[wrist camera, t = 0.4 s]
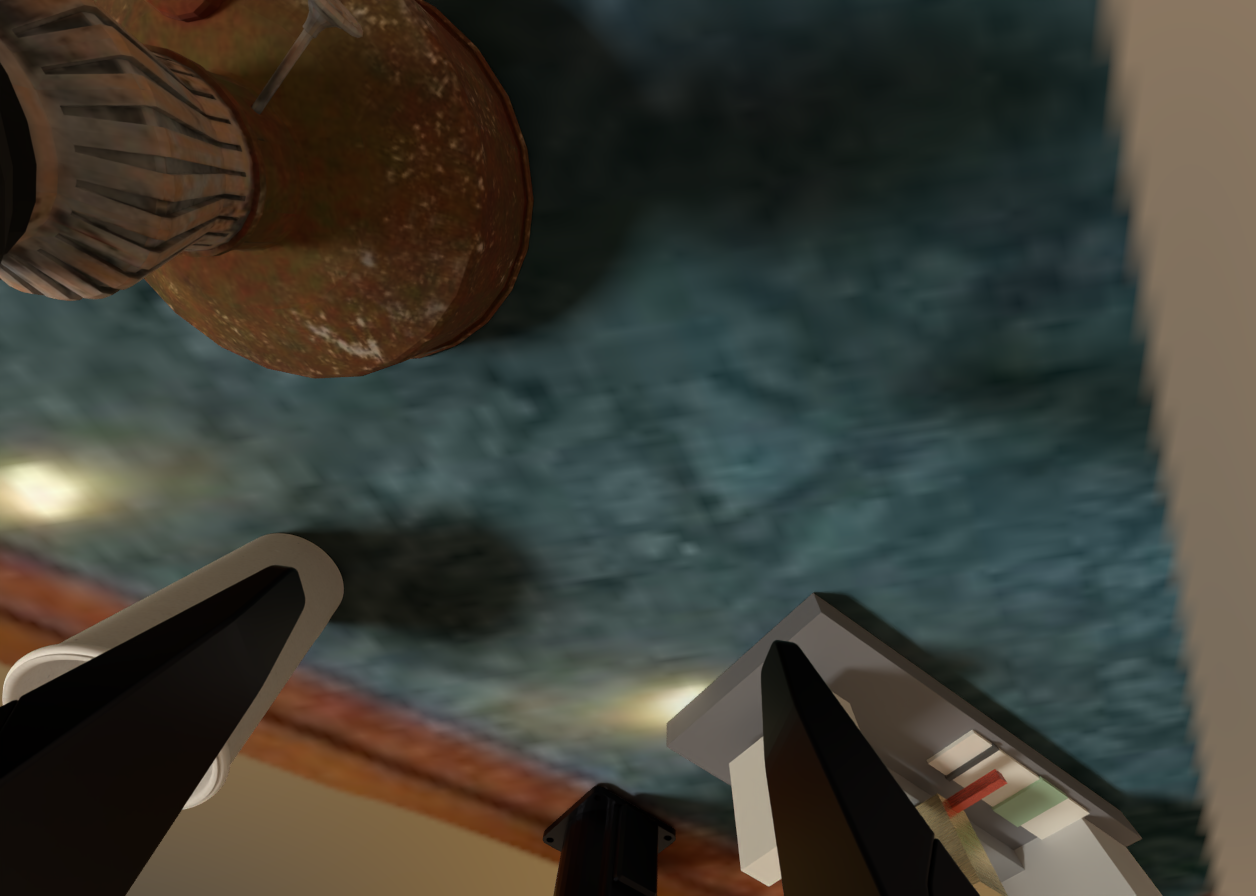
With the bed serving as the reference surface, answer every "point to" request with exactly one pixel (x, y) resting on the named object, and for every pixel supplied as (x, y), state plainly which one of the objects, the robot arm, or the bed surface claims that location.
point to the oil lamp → (264, 171)
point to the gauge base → (930, 757)
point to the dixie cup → (264, 551)
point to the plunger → (757, 812)
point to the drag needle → (965, 832)
